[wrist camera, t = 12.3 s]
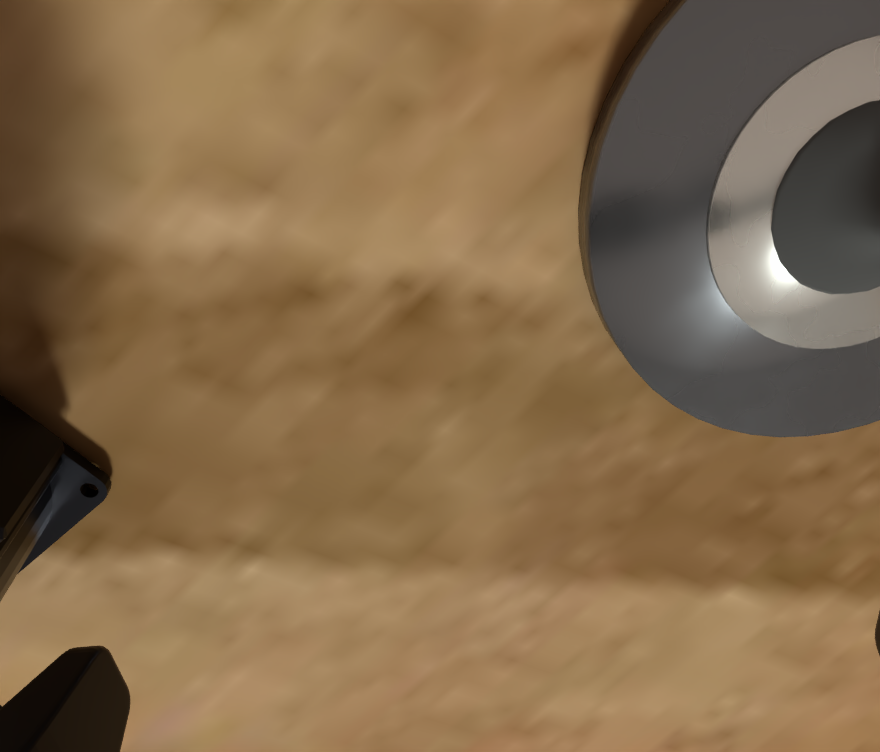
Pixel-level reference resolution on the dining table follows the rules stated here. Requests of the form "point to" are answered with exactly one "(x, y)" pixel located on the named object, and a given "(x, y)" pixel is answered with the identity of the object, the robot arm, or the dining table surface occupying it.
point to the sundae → (833, 206)
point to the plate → (729, 214)
